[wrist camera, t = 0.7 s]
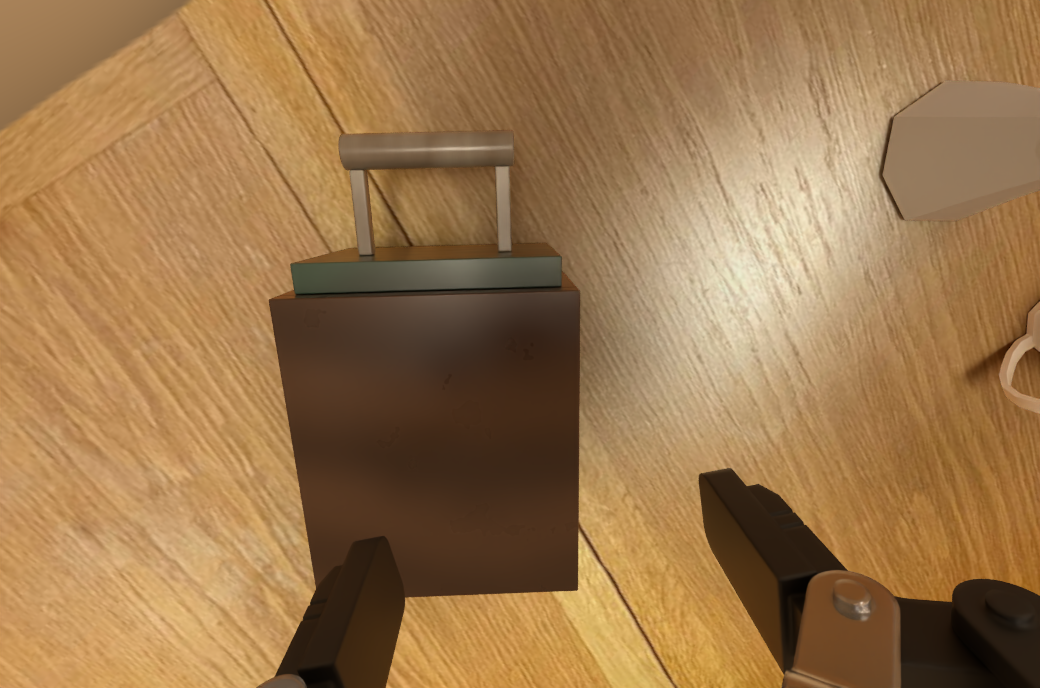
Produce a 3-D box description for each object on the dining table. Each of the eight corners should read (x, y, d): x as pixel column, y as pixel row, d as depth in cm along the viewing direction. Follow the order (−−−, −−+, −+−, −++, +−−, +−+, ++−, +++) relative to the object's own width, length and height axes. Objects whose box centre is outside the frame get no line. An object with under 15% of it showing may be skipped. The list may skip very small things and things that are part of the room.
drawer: (337, 148, 24) (268, 124, 17) (545, 143, 25) (561, 117, 18) (373, 462, 29) (331, 543, 22) (549, 456, 29) (562, 534, 22)
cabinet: (345, 269, 27) (267, 299, 18) (556, 263, 27) (580, 290, 18) (371, 488, 31) (317, 601, 22) (557, 481, 31) (578, 591, 22)
